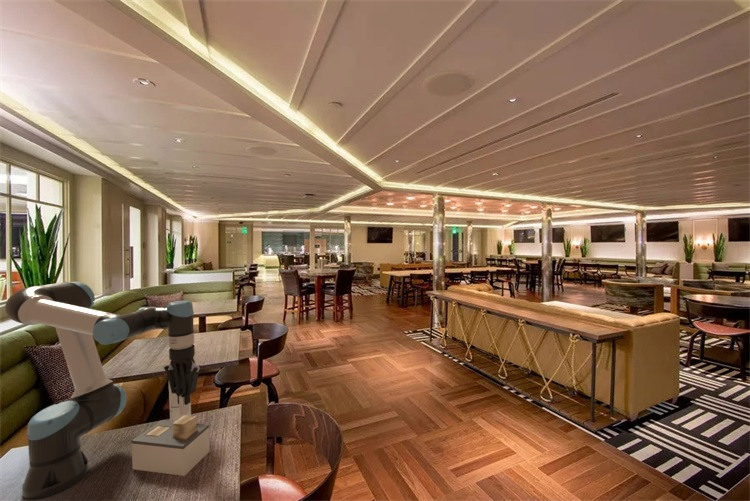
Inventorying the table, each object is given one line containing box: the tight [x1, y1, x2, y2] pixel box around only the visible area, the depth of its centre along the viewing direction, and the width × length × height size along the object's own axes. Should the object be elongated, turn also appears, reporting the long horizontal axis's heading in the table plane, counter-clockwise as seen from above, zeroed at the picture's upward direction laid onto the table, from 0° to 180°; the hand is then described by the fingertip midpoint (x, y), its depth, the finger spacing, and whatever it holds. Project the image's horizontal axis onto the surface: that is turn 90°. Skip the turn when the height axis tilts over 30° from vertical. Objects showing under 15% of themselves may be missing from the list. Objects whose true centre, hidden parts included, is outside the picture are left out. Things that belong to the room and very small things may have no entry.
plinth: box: [130, 419, 211, 477], centre depth 110 cm, size 20×12×10 cm, turn 80°
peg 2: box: [173, 415, 198, 440], centre depth 109 cm, size 5×5×8 cm
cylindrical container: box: [168, 383, 192, 421], centre depth 125 cm, size 7×7×25 cm
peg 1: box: [146, 426, 170, 437], centre depth 111 cm, size 5×5×8 cm
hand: (184, 412), depth 108 cm, fingers closed
